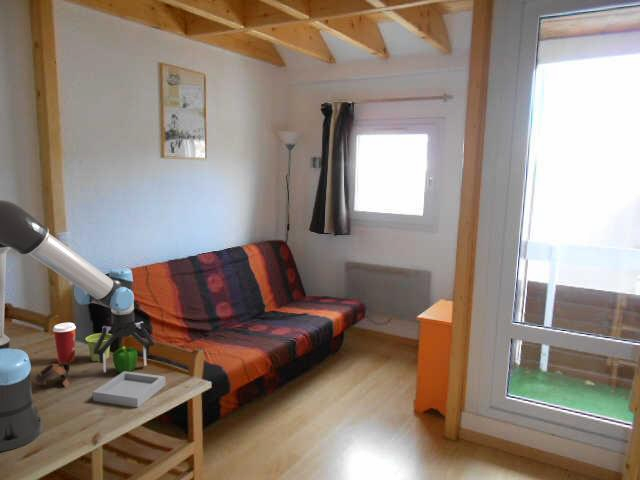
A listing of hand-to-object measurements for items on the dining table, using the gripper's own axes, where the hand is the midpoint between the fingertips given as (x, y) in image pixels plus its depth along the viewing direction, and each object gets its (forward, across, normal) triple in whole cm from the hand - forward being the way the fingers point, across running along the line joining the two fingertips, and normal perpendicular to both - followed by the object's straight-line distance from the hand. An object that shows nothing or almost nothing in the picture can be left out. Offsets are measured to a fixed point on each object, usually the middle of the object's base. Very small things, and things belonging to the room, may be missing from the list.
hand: (125, 367), depth 172 cm
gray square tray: (+1, 0, +18) cm, 18 cm away
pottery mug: (+2, +22, +2) cm, 22 cm away
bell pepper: (+2, 0, 0) cm, 2 cm away
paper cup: (+1, +19, -19) cm, 27 cm away
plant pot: (+2, +8, -16) cm, 18 cm away
